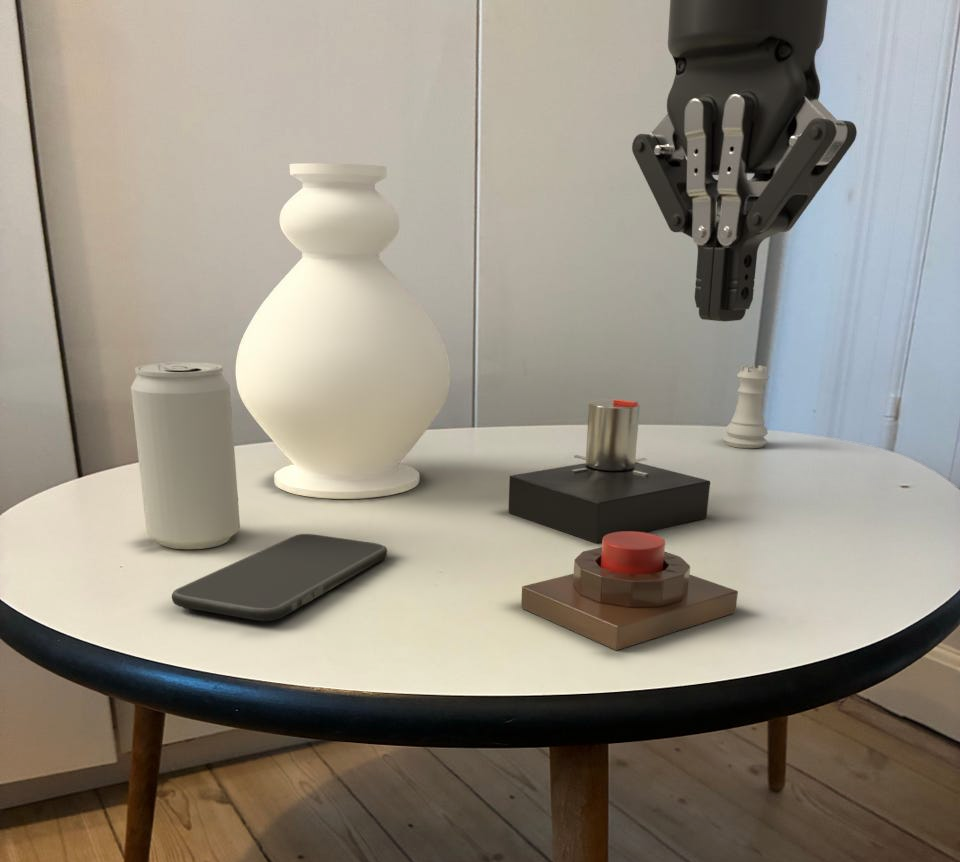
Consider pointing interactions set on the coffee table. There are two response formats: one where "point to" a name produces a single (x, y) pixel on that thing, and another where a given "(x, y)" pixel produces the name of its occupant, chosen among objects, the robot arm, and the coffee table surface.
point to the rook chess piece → (748, 410)
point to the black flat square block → (608, 499)
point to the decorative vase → (342, 345)
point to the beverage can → (186, 453)
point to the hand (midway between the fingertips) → (721, 319)
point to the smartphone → (280, 577)
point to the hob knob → (612, 434)
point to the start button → (632, 552)
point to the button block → (627, 601)
